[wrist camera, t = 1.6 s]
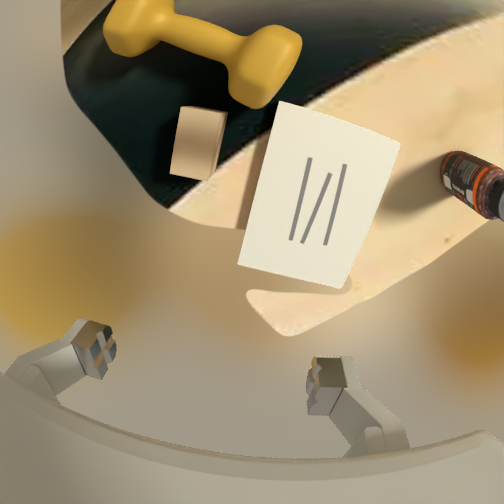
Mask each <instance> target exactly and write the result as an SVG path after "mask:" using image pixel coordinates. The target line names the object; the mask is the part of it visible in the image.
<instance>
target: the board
mask: <svg viewBox="0 0 504 504" xmlns="http://www.w3.org/2000/svg"><path fill="white" fill-rule="evenodd" d="M400 146H401V143H399V142H397V141H394V140H392V139H390V138H388V137H385V136H383V135H380V134H378V133H376V132H373V131H371V130H368V129H366V128H363V127H360V126H358V125H355V124H352V123H350V122H347V121H344V120H341V119H338V118H335V117H332V116H329V115H326V114H323V113H320V112H317V111H314V110H310V109H307V108H304V107H300V106H297V105H293V104H290V103H286V102H282V101H279V104H278V107H277V111H276V115H275V119H274V122H273V126H272V130H271V134H270V138H269V141H268V145H267V149H266V153H265V157H264V161H263V164H262V168H261V172H260V176H259V180H258V184H257V188H256V192H255V195H254V199H253V203H252V207H251V211H250V215H249V219H248V223H247V227H246V231H245V235H244V239H243V243H242V247H241V251H240V255H239V259H238V265H241V266H245V267H250V268H254V269H258V270H262V271H266V272H270V273H274V274H279V275H283V276H287V277H292V278H296V279H300V280H305V281H309V282H313V283H317V284H322V285H326V286H330V287H335V288H339V289H341V288H342V286H343V284H344V282H345V280H346V278H347V276H348V274H349V272H350V270H351V267H352V265H353V263H354V261H355V259H356V257H357V255H358V252H359V250H360V248H361V246H362V244H363V241H364V239H365V237H366V234H367V232H368V230H369V228H370V225H371V223H372V220H373V218H374V216H375V213H376V211H377V208H378V206H379V203H380V201H381V198H382V196H383V193H384V191H385V188H386V185H387V183H388V180H389V177H390V175H391V172H392V169H393V166H394V164H395V161H396V158H397V155H398V152H399V149H400Z"/></svg>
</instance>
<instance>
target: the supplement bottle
mask: <svg viewBox="0 0 504 504" xmlns="http://www.w3.org/2000/svg"><path fill="white" fill-rule="evenodd" d="M441 179H442V182H443V185H444V187H445V188H446V190H447V191H449V192H450V193H451V194H452V195H454V196H455V197H456V198H458V199H459V200H461V201H462V202H464V203H465V204H467V205H468V206H469V207H471V208H472V209H473V210H475V211H476V212H477V213H478V214H480V215H482V216H483V217H484V218H486V219H490V220H493V219H497V218H499V219H501V220H502V221H504V170H503V169H501V168H499V167H497V166H495V165H493V164H491V163H489V162H487V161H485V160H482V159H480V158H478V157H476V156H473V155H471V154H468V153H466V152H463V151H455V152H452V153H450V154H449V155H448V156H447V157H446V159H445V160H444V162H443V165H442V169H441Z"/></svg>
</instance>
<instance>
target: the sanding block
mask: <svg viewBox="0 0 504 504" xmlns="http://www.w3.org/2000/svg"><path fill="white" fill-rule="evenodd" d="M227 116H228V112H225V111H220V110H214V109H209V108H203V107H197V106H185V107H181V110H180V115H179V120H178V126H177V131H176V137H175V143H174V149H173V155H172V161H171V168H170V174H174V175H179V176H184V177H189V178H194V179H198V180H203V181H208V179H209V178H210V177H211V176H212V175H213V173H214V172H215V171H216V166H217V161H218V156H219V152H220V147H221V142H222V138H223V133H224V129H225V124H226V120H227Z"/></svg>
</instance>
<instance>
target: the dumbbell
mask: <svg viewBox="0 0 504 504" xmlns="http://www.w3.org/2000/svg"><path fill="white" fill-rule="evenodd" d="M174 11H175V5H174V0H116V2H115V4H114V5H113V7H112V9H111V10H110V12H109V14H108V16H107V18H106V20H105V22H104V25H103V34H104V37H105V39H106V42H107V44H108V46H109V48H110V49H111V51H112V52H114V53H116V54H119V55H122V56H126V57H135V56H138V55H140V54H142V53H144V52H146V51H148V50H150V49H151V48H153V47H154V46H156V45H157V44H158V43H159V42H160V40H161V41H165V42H168V43H170V44H172V45H175V46H177V47H179V48H182V49H184V50H187V51H189V52H192V53H195V54H198V55H201V56H204V57H207V58H210V59H213V60H216V61H219V62H221V63H223V64H224V65H225V66H226V67H227V69H228V73H229V82H228V89H229V93H230V95H231V96H232V97H233V98H234V99H235V100H237V101H238V102H240V103H242V104H244V105H246V106H248V107H250V108H253V109H258V108H261V107H263V106H265V105H266V104H267V103H268V102H269V101H270V100H271V99H272V98H273V97H274V95H275V94H276V93H277V92H278V90H279V89H280V88H281V86H282V85H283V83H284V82H285V81H286V79H287V77H288V76H289V74H290V73H291V71H292V69H293V68H294V66H295V64H296V62H297V59H298V57H299V54H300V51H301V48H302V39H301V37H300V36H299V35H298V34H297V33H295V32H293V31H291V30H289V29H287V28H285V27H282V26H279V25H269V26H266V27H263V28H261V29H259V30H258V31H256V32H255V33H253V34H252V35H250V36H245V37H244V36H239V35H236V34H234V33H232V32H230V31H228V30H226V29H224V28H222V27H219V26H217V25H214V24H211V23H209V22H206V21H203V20H199V19H196V18H193V17H189V16H183V15H178V14H176V13H174Z"/></svg>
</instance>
